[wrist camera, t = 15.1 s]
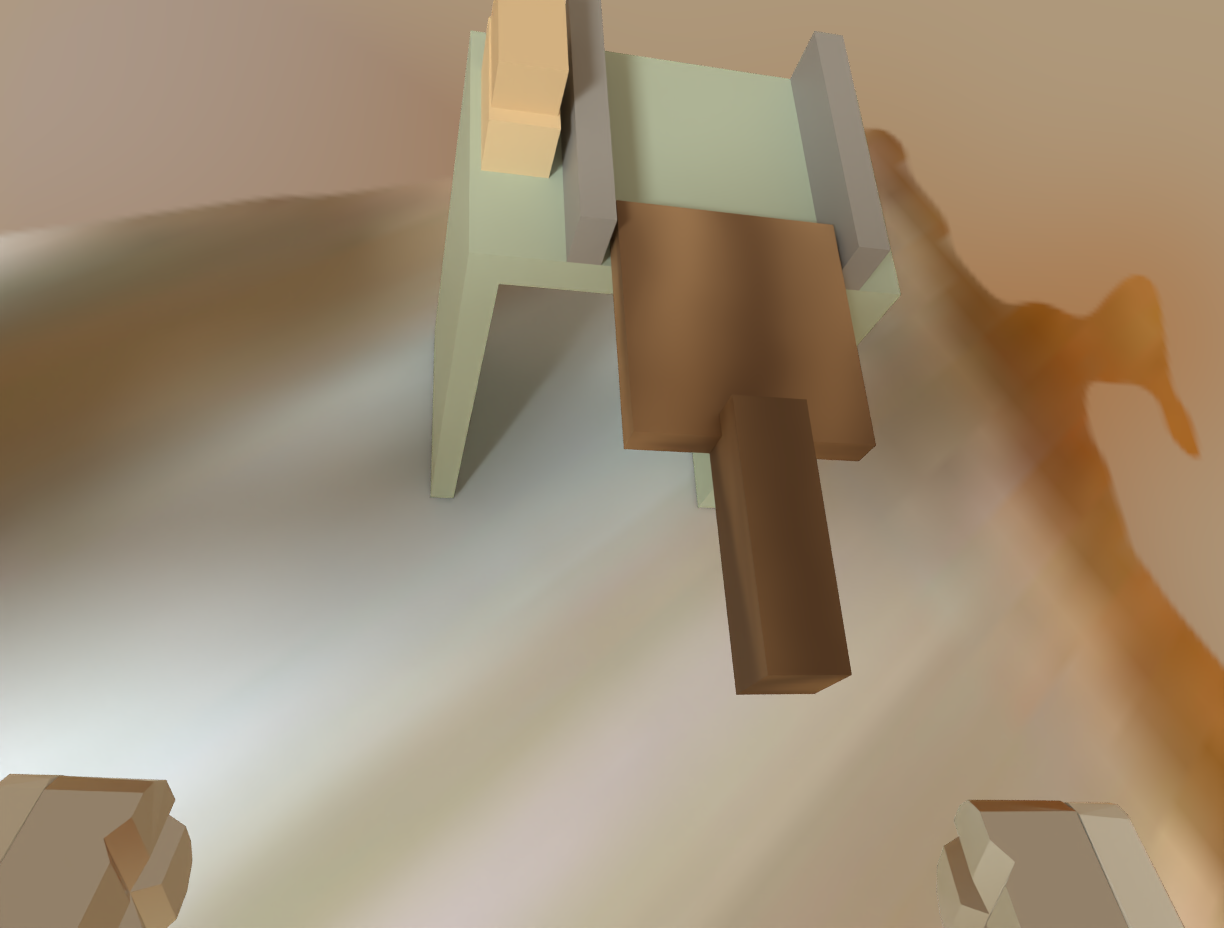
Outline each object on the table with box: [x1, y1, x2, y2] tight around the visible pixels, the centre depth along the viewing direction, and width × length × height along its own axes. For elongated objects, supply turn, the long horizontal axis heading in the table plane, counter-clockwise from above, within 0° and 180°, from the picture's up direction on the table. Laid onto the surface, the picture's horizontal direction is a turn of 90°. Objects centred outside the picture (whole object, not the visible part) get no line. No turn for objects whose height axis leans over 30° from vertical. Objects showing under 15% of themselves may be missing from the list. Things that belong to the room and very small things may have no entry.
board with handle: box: [610, 200, 876, 695], centre depth 37 cm, size 10×20×3 cm, turn 3°
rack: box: [430, 0, 901, 508], centre depth 54 cm, size 20×13×31 cm, turn 93°
